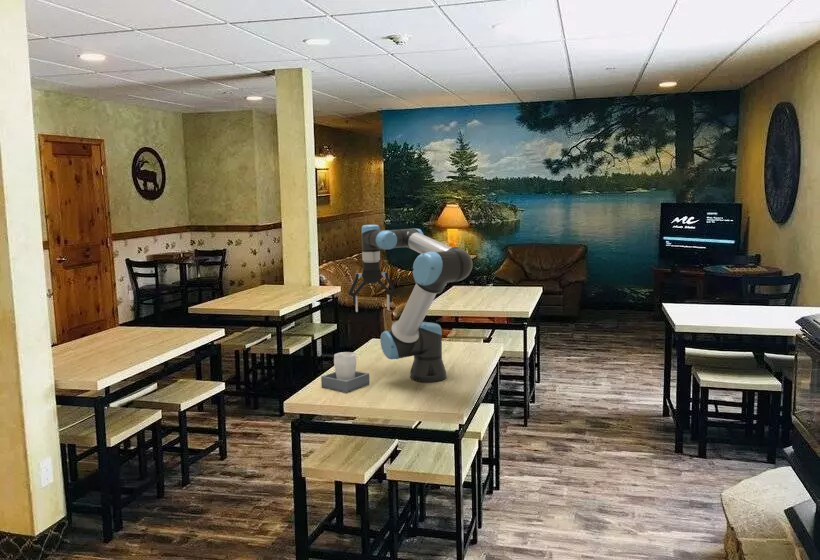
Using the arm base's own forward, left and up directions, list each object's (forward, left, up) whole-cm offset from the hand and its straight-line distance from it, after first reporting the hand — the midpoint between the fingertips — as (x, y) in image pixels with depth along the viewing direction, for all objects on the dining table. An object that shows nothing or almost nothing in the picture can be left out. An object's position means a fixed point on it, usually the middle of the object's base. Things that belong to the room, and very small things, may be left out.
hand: (372, 310), depth 289 cm
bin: (-4, +23, -27) cm, 35 cm away
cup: (-4, +23, -26) cm, 35 cm away
